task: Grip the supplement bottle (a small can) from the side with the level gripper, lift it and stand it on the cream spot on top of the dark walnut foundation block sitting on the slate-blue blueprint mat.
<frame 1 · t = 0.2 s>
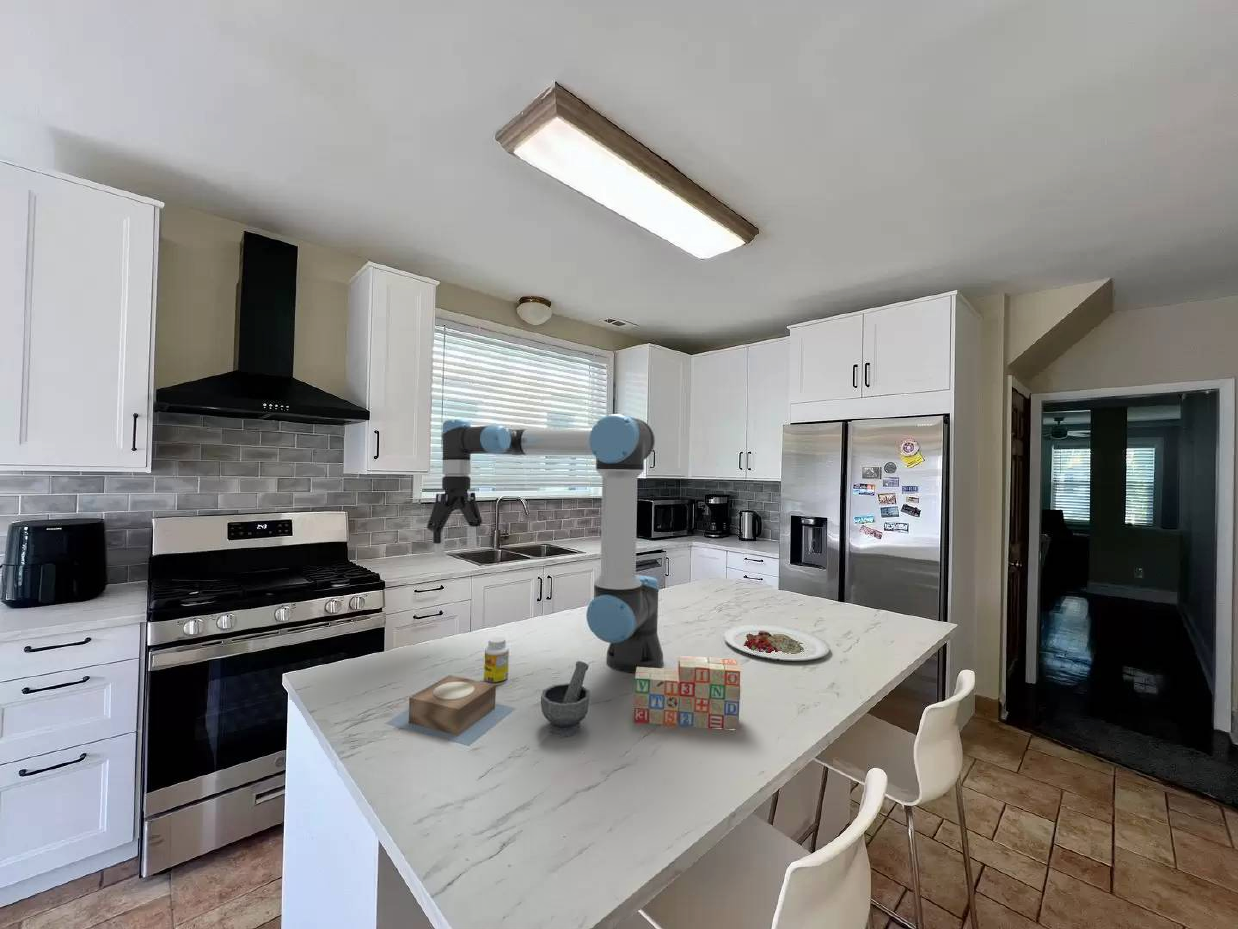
hand: (456, 552, 143), 27 cm above the counter, tool pointing down, fingers open, 13 cm apart
mortar and pestle: (567, 728, 103), on the counter
plated food: (775, 647, 154), on the counter
blueprint mat: (453, 717, 106), on the counter
foundation block: (453, 715, 106), resting on blueprint mat
supplement bottle: (496, 682, 123), on the counter
stack of blocks: (685, 720, 108), on the counter
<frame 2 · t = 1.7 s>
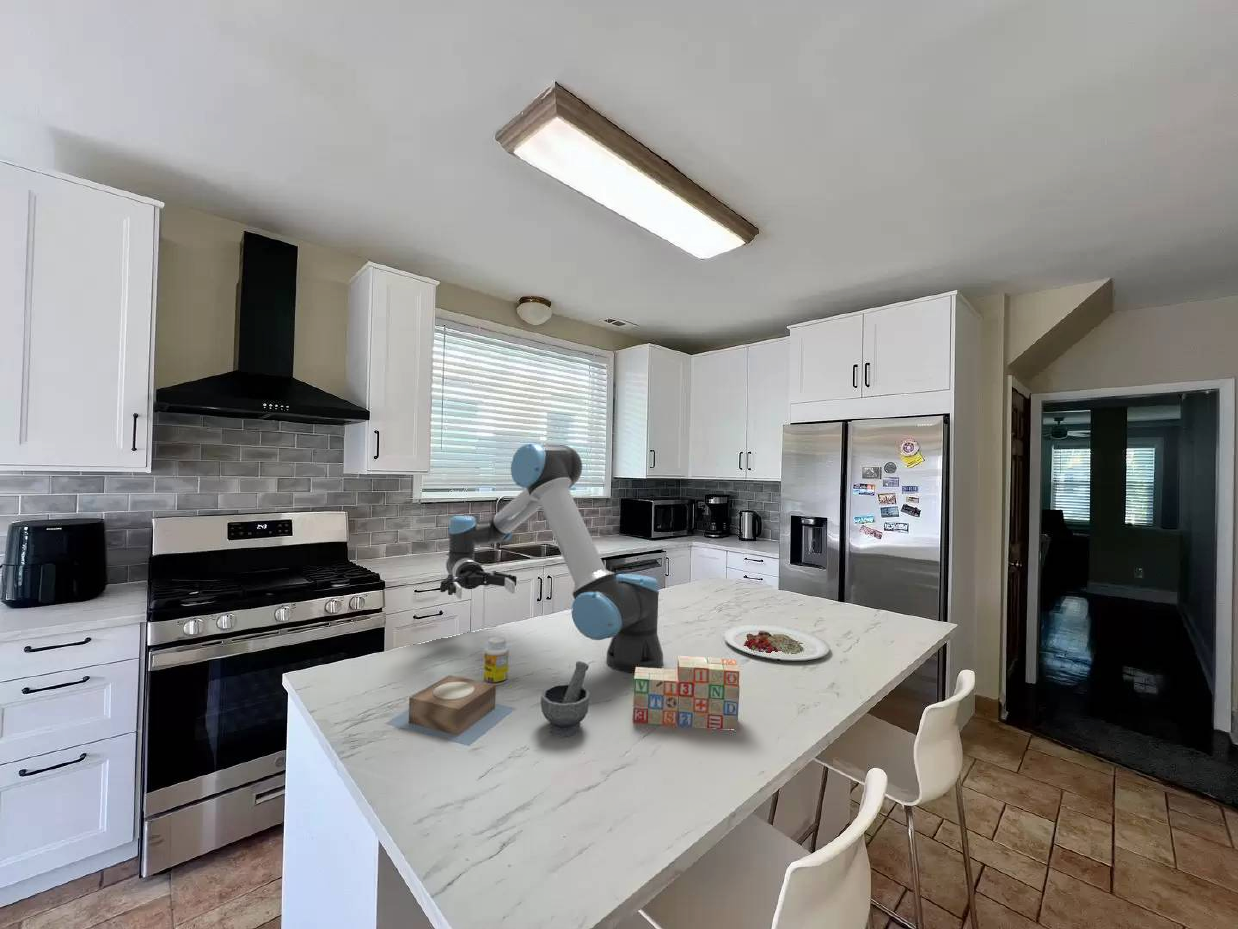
hand: (487, 590, 132), 20 cm above the counter, tool horizontal, fingers open, 13 cm apart
nothing on the counter moved.
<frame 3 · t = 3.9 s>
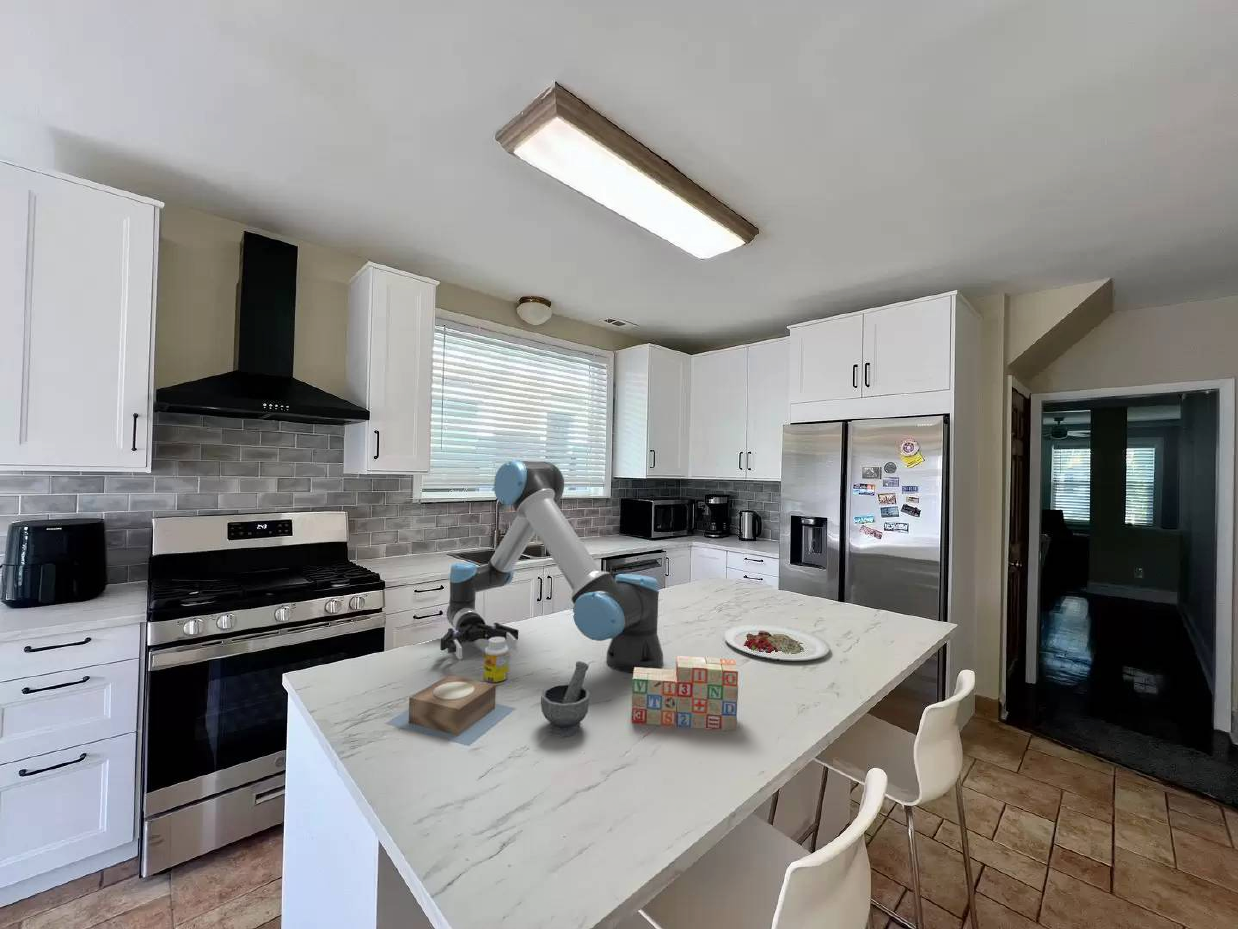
hand: (488, 649, 128), 6 cm above the counter, tool horizontal, fingers open, 13 cm apart
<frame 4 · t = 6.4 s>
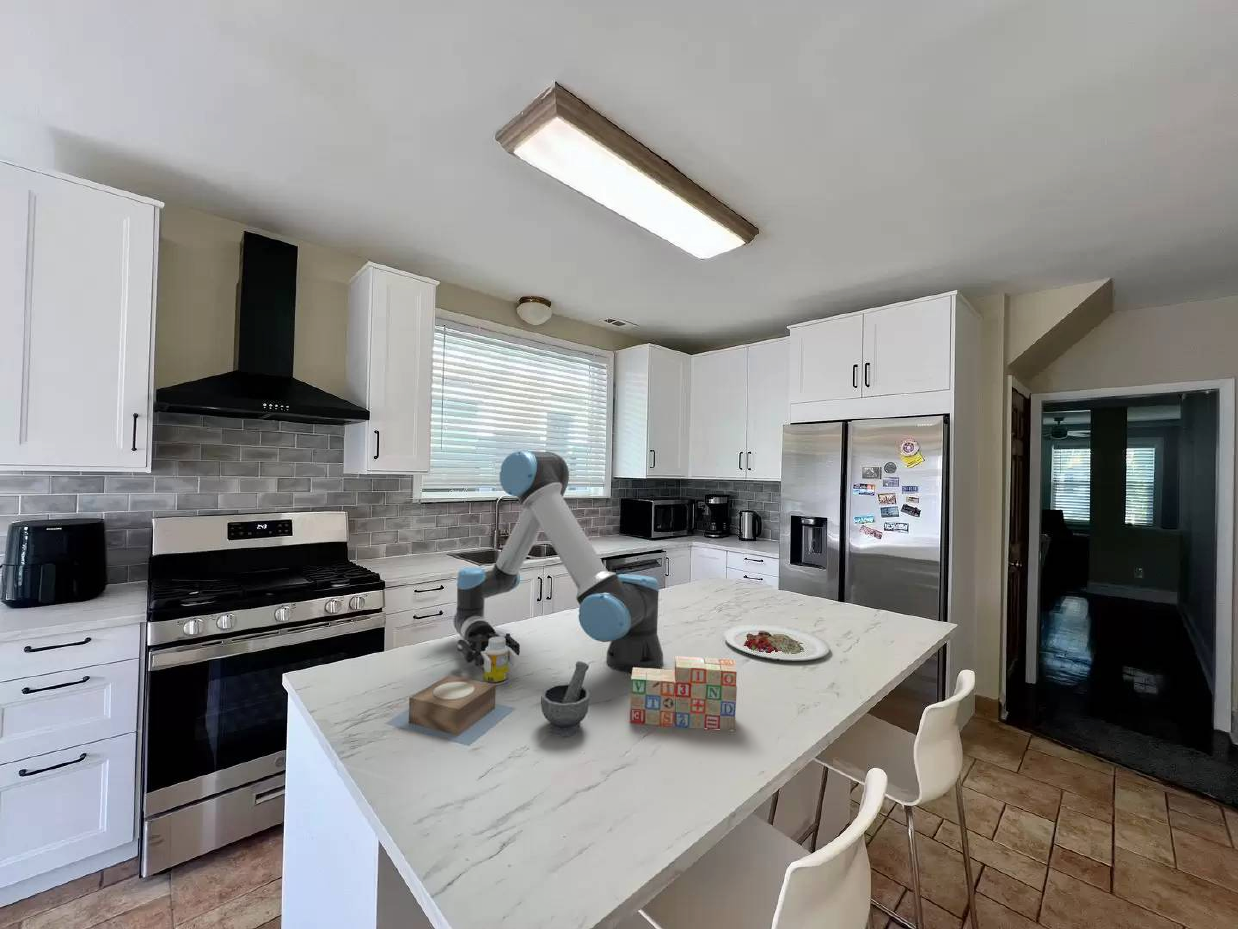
hand: (502, 664, 119), 6 cm above the counter, tool horizontal, fingers closed on supplement bottle, 6 cm apart
supplement bottle: (496, 682, 123), on the counter, touching gripper
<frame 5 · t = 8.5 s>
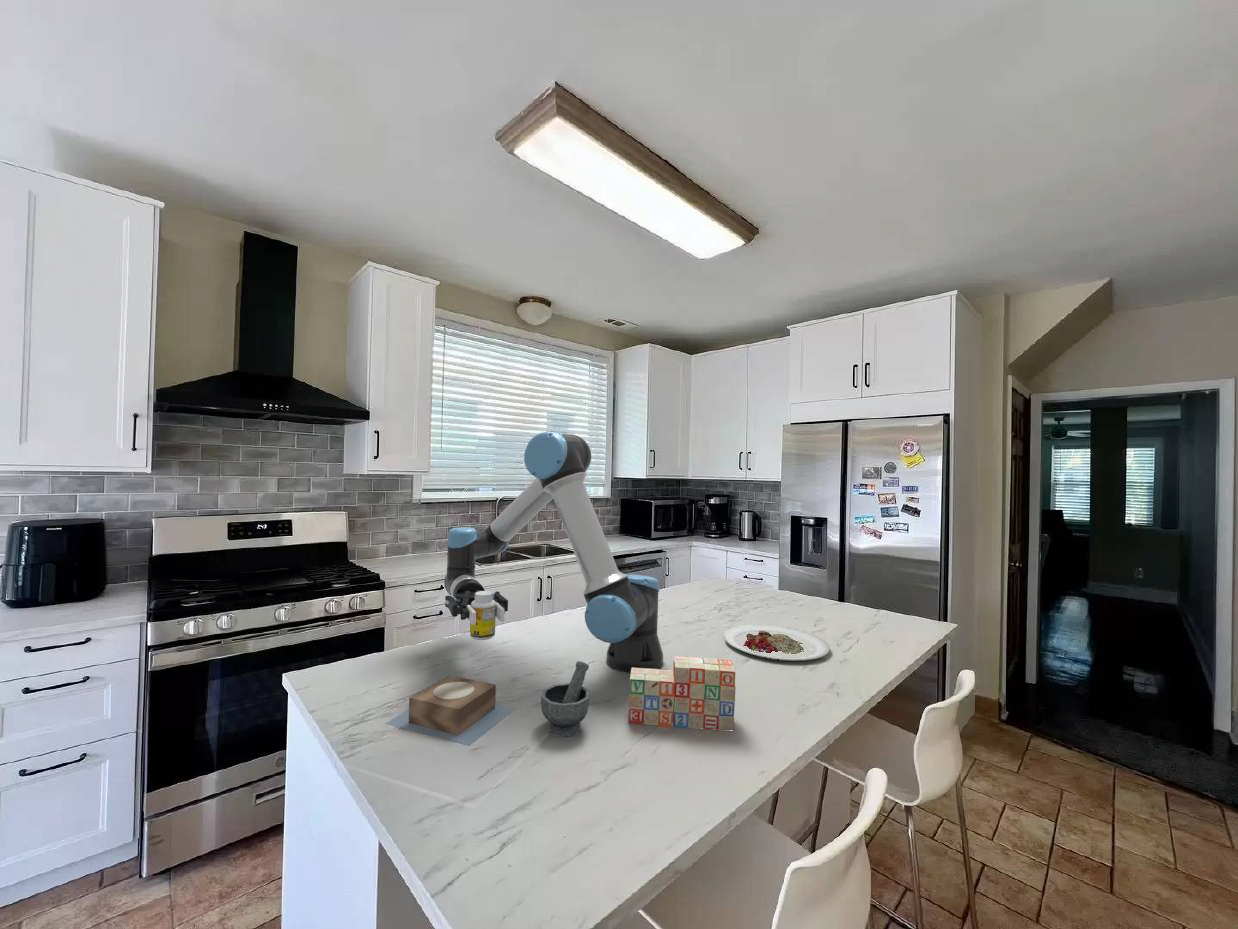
hand: (488, 617, 115), 18 cm above the counter, tool horizontal, fingers closed on supplement bottle, 6 cm apart
supplement bottle: (482, 637, 119), point 12 cm above the counter, touching gripper
when the fingers open (13 cm above the counter, at t = 10.7 s): supplement bottle drops 1 cm, resting on foundation block.
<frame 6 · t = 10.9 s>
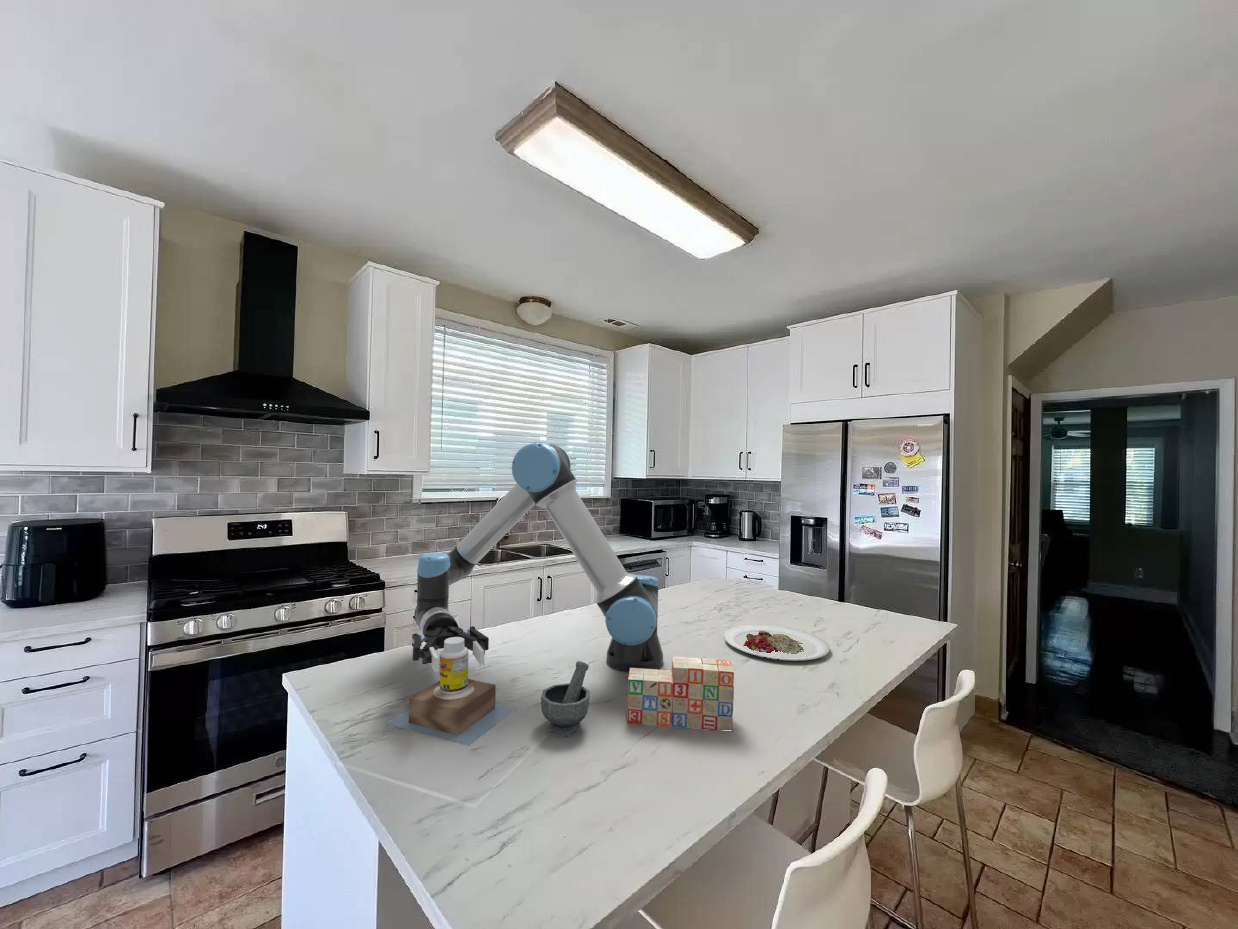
hand: (459, 661, 102), 13 cm above the counter, tool horizontal, fingers open, 8 cm apart
supplement bottle: (454, 690, 106), point 5 cm above the counter, touching foundation block
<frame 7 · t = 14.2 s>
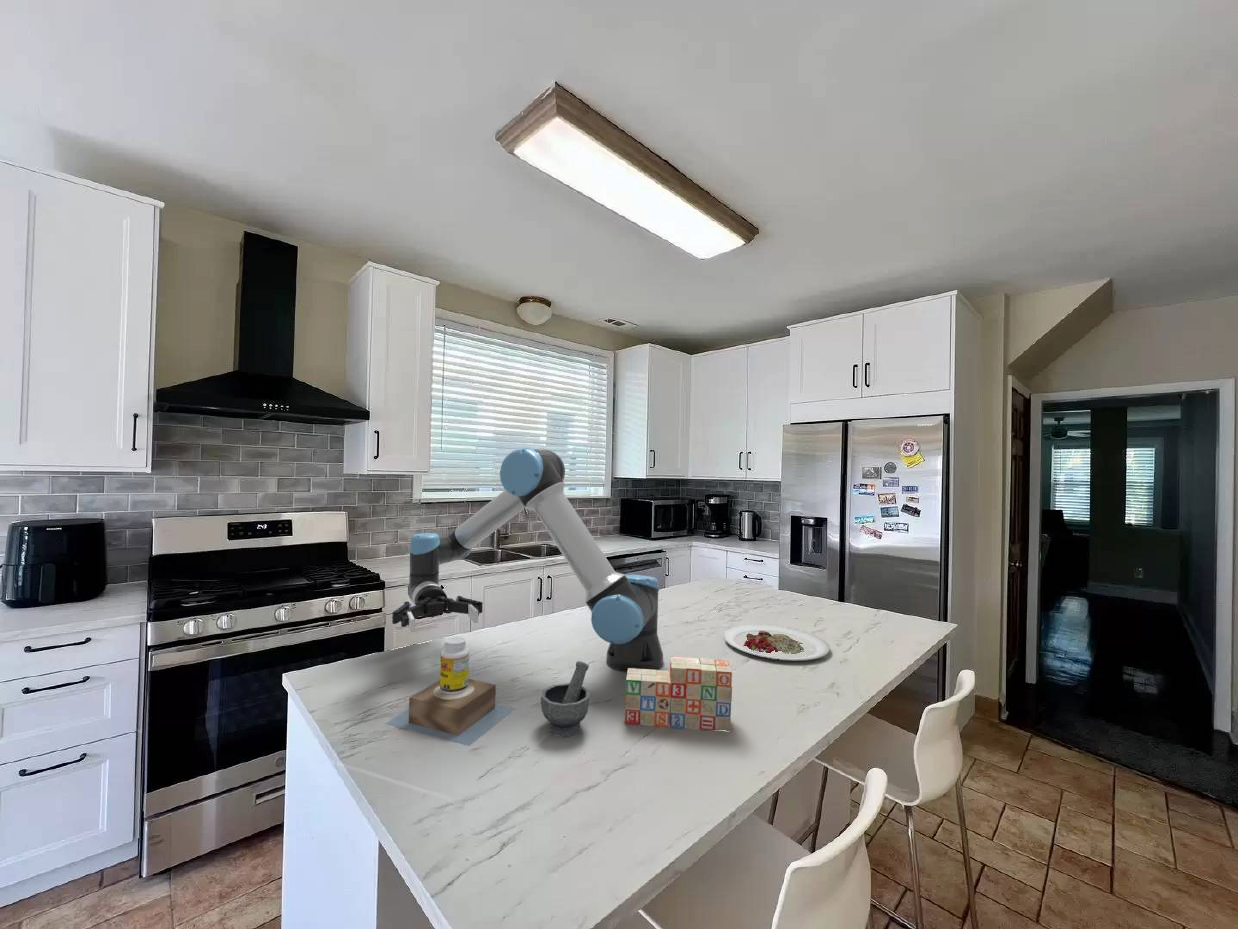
hand: (445, 621, 114), 17 cm above the counter, tool horizontal, fingers open, 13 cm apart
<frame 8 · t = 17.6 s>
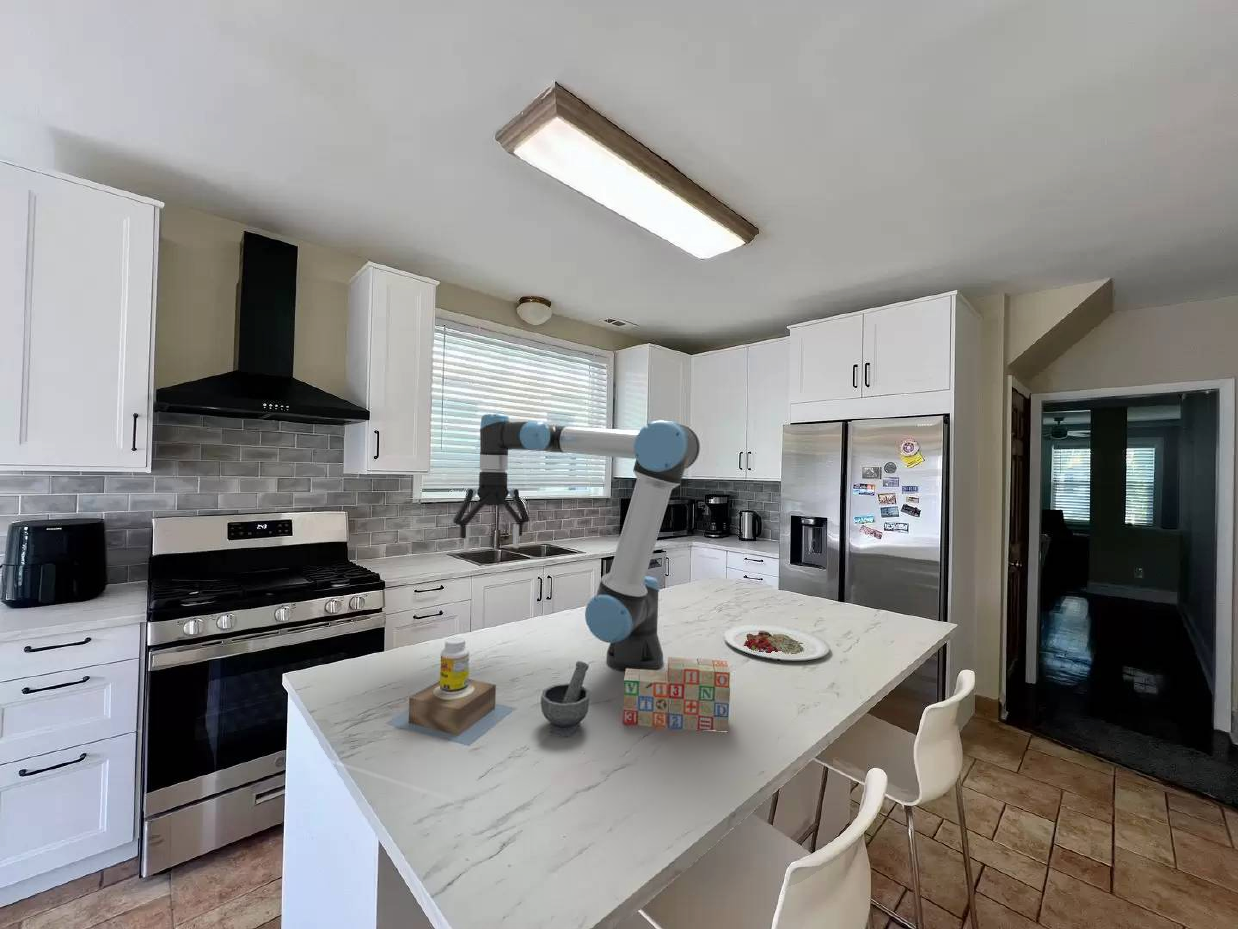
hand: (491, 549, 141), 29 cm above the counter, tool pointing down, fingers open, 13 cm apart
at the end: supplement bottle 0.1 cm off-centre on the foundation block, point 5.0 cm above the foundation block's base; supplement bottle tilted 0°; the gripper is holding nothing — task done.
